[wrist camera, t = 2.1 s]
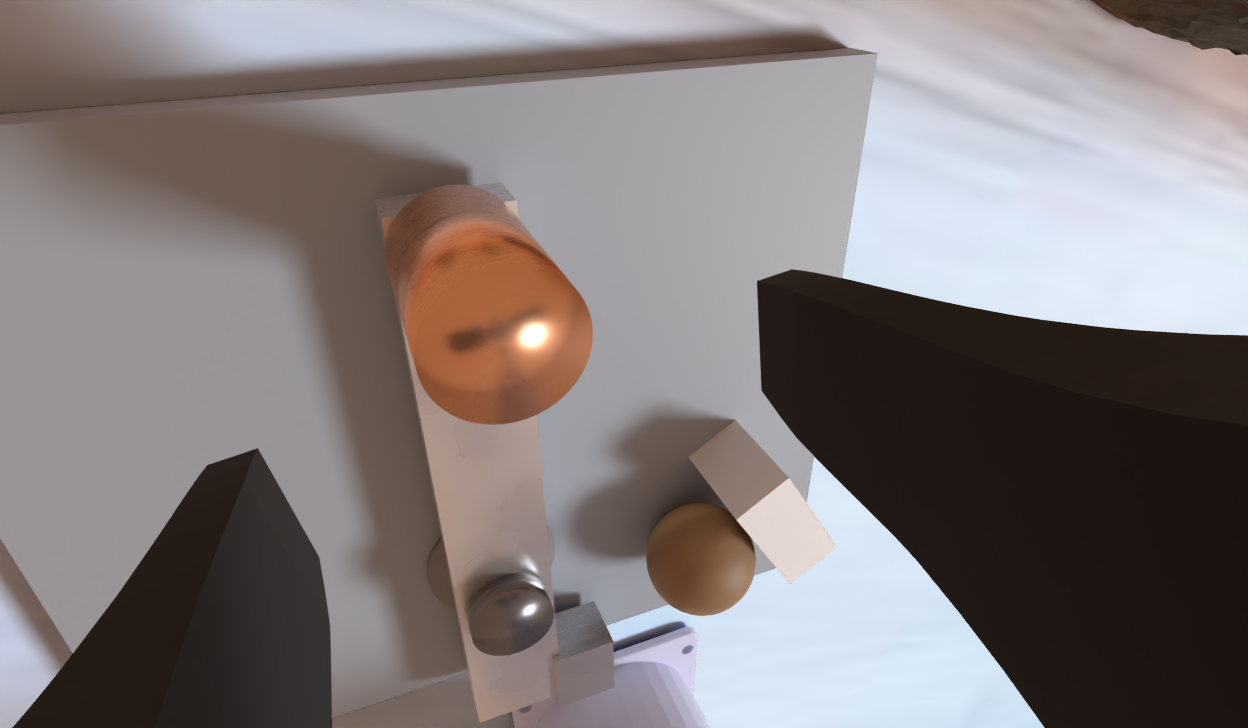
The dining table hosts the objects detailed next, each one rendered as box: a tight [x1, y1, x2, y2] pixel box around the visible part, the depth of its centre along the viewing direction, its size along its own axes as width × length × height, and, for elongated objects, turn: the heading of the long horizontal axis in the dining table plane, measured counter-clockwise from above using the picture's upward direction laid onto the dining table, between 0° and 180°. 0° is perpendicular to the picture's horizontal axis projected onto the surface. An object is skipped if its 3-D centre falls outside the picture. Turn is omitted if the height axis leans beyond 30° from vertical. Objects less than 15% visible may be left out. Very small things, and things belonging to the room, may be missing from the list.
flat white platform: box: [0, 48, 877, 719], centre depth 20 cm, size 19×23×4 cm
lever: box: [375, 182, 615, 723], centre depth 18 cm, size 18×5×6 cm, turn 1°
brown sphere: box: [646, 503, 756, 616], centre depth 24 cm, size 4×4×4 cm
